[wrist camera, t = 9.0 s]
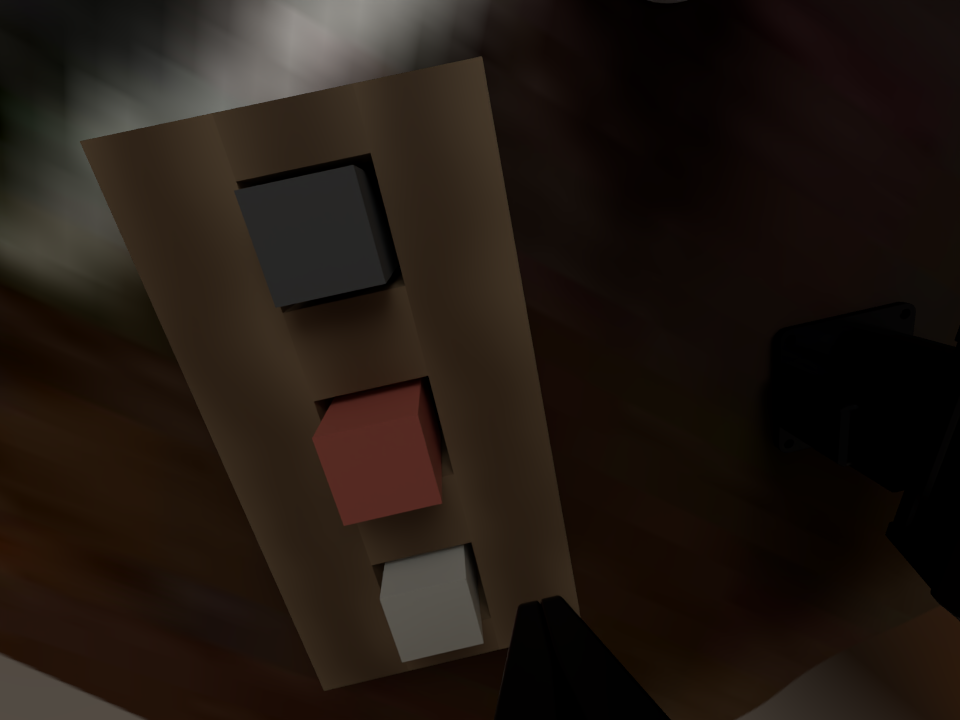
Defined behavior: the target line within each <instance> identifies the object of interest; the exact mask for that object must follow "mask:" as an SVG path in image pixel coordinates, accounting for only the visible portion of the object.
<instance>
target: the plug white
mask: <svg viewBox="0 0 960 720" xmlns="http://www.w3.org/2000/svg"><path fill="white" fill-rule="evenodd" d="M380 602H381V605H382V607H383V610H384V613H385V616H386V619H387V621H388V624H389V627H390V630H391V633H392V635H393V638H394V641H395V644H396V647H397V649H398V652H399V655H400V658H401V661H402V663H403V662H407V661H411V660H415V659H419V658H424V657H428V656H432V655H436V654H441V653H445V652H449V651H453V650H458V649H462V648H466V647H470V646H475V645H479V644H483V643H484V641H483V632H482V622H481V613H480V604H479V594H478V585H477V576H476V566H475V557H474V553H473V549H472V545H471V542H470V543H466V544H461V545H457V546H453V547H449V548H444V549H440V550H436V551H431V552H427V553H423V554H418V555H414V556H410V557H405V558H401V559H397V560H392V561H388V562H385V566H384V572H383V579H382V586H381V593H380Z"/></svg>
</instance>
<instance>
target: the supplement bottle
mask: <svg viewBox="0 0 960 720" xmlns="http://www.w3.org/2000/svg"><path fill="white" fill-rule="evenodd" d="M647 1H651V2H657V3H677V2H683V1H687V0H647Z"/></svg>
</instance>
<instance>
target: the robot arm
mask: <svg viewBox="0 0 960 720" xmlns="http://www.w3.org/2000/svg"><path fill="white" fill-rule="evenodd" d="M901 312H902V314H901V315H900V313H901ZM915 313H916V311H915V307H914V305H912V304H910V303H905V302H896V303H891V304H887V305H883V306H878V307H874V308H869V309H865V310H860V311H856V312H851V313H847V314H843V315H838V316H834V317H829V318H825V319H820V320H816V321H812V322H807V323H803V324H798V325H794V326H789V327H785V328H782V329H780V330H779V331H778V332H777V333H776V335H775V338H774V378H773V422H774V445H775V447H776V448H778V449H779V450H781V451H782V452H785V453H788V452H793V451H797V450H802V449H806V448H810V447H812V448H814V449H815V450H817V451H818V452H820V453H822V454H823V455H825V456H826V457H828V458H829V459H831V460H833V461H834V462H836V463H837V464H839V465H840V466H843V467H844V466H848V465H849V466H851V467H852V468H854V469H856V470H857V471H859V472H860V473H862V474H864V475H865V476H867V477H868V478H870V479H872V480H873V481H875V482H876V483H878V484H880V485H881V486H883V487H885V488H886V489H888V490H889V491H891V492H898V491H903V490H904V493H903V496H902V499H901V501H900V504H899V507H898V510H897V513H896V515H895V518H894V521H893V522H890V523H889V525H888V528H887V531H886V534H885V535H886V536H887V538H888V539H889V540H890V541H891V542H892V543H893V545H894V546H895V547H896V548H897V549H898V551H899V552H900V553H901V554H902V555H903V556H904V558H905V559H906V560H907V561H908V562H909V563H910V565H911V566H912V567H913V568H914V569H915V570H916V572H917V573H918V574H919V575H920V576H921V577H922V579H923V580H924V581H925V582H926V583H927V585H928V586H929V587H930V588H931V595H932V596H933V597H934V598H935V600H936V601H937V602H938V603H939V604H940V605H941V606H942V607H944V608H945V609H946V610H947V611H949V612H950V613H951V614H952V615H953V616H955V617H956V618H957V619H958V620H959V621H960V326H959V329H958V332H957V335H956V338H955V341H957V342H958V343H957V346H956V347H954V346H950V345H946V344H943V343H939V342H935V341H931V340H927V339H924V338H920V337H916V336H913V332H914V322H915ZM788 336H790V337H789V340H788V341H787V342H785V340H786V338H787V337H788ZM786 440H788V441H787V442H786ZM785 442H786V443H785ZM784 443H785V444H784ZM494 720H671V719H670V718H669V717H668V716H667V715H666V714H665V713H664V712H663V710H662V709H661V708H660V707H659V706H658V705H657V704H656V703H655V701H654V700H653V699H652V698H651V697H650V696H649V695H648V693H647V692H646V691H645V690H644V689H643V688H642V687H641V686H640V684H639V683H638V682H637V681H636V680H635V679H634V678H633V676H632V675H631V674H630V673H629V672H628V671H627V670H626V669H625V667H624V666H623V665H622V664H621V663H620V662H619V661H618V660H617V658H616V657H615V656H614V655H613V654H612V653H611V652H610V650H609V649H608V648H607V647H606V646H605V645H604V644H603V643H602V641H601V640H600V639H599V638H598V637H597V636H596V635H595V634H594V632H593V631H592V630H591V629H590V628H589V627H588V626H587V624H586V623H585V622H584V621H583V620H582V619H581V618H580V617H579V615H578V614H577V613H576V612H575V611H574V610H573V609H572V607H571V606H570V605H569V604H568V603H567V602H566V601H565V600H564V598H562V597H561V596H559V595H556V596H552V597H547V598H543V599H542V600H541V601H540V603H539V602H538V601H537V600H535V601H530V602H526V603H522V604H520V605H519V606H518V608H517V611H516V616H515V621H514V626H513V630H512V635H511V640H510V645H509V649H508V654H507V659H506V664H505V669H504V673H503V678H502V683H501V688H500V692H499V697H498V702H497V707H496V712H495V716H494Z"/></svg>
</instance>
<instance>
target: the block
mask: <svg viewBox="0 0 960 720" xmlns="http://www.w3.org/2000/svg"><path fill="white" fill-rule="evenodd" d="M80 143H81V145H82V147H83V150H84V152H85V154H86V156H87V159H88V161H89V163H90V165H91V168H92V170H93V172H94V174H95V177H96V179H97V181H98V183H99V186H100V188H101V190H102V192H103V195H104V197H105V199H106V201H107V204H108V206H109V208H110V210H111V213H112V215H113V217H114V219H115V222H116V224H117V226H118V228H119V231H120V233H121V235H122V237H123V240H124V242H125V244H126V246H127V249H128V251H129V253H130V255H131V258H132V260H133V262H134V264H135V267H136V269H137V271H138V273H139V276H140V278H141V280H142V282H143V285H144V287H145V289H146V291H147V294H148V296H149V298H150V300H151V303H152V305H153V307H154V309H155V311H156V314H157V316H158V318H159V320H160V323H161V325H162V327H163V329H164V332H165V334H166V336H167V338H168V341H169V343H170V345H171V347H172V350H173V352H174V354H175V356H176V359H177V361H178V363H179V365H180V368H181V370H182V372H183V374H184V377H185V379H186V381H187V383H188V386H189V388H190V390H191V392H192V395H193V397H194V399H195V401H196V404H197V406H198V408H199V410H200V413H201V415H202V417H203V419H204V422H205V424H206V426H207V428H208V431H209V433H210V435H211V437H212V440H213V442H214V444H215V446H216V449H217V451H218V453H219V455H220V458H221V460H222V462H223V464H224V467H225V469H226V471H227V473H228V476H229V478H230V480H231V482H232V485H233V487H234V489H235V491H236V494H237V496H238V498H239V500H240V503H241V505H242V507H243V509H244V512H245V514H246V516H247V518H248V521H249V523H250V525H251V527H252V530H253V532H254V534H255V536H256V539H257V541H258V543H259V545H260V548H261V550H262V552H263V554H264V557H265V559H266V561H267V563H268V566H269V568H270V570H271V572H272V575H273V577H274V579H275V581H276V584H277V586H278V588H279V590H280V593H281V595H282V597H283V599H284V602H285V604H286V606H287V608H288V611H289V613H290V615H291V617H292V620H293V622H294V624H295V626H296V629H297V631H298V633H299V635H300V638H301V640H302V642H303V644H304V647H305V649H306V651H307V653H308V656H309V658H310V660H311V662H312V665H313V667H314V669H315V671H316V674H317V676H318V678H319V680H320V682H321V685H322V687H323V689H324V691H326V690H330V689H334V688H338V687H343V686H347V685H351V684H355V683H359V682H364V681H368V680H372V679H376V678H381V677H385V676H389V675H393V674H398V673H402V672H406V671H410V670H414V669H419V668H423V667H427V666H431V665H436V664H440V663H444V662H448V661H452V660H457V659H461V658H465V657H469V656H474V655H478V654H482V653H486V652H491V651H495V650H499V649H503V648H507V647H509V645H510V640H511V635H512V630H513V626H514V621H515V616H516V611H517V608H518V606H519V605H520V604H522V603H526V602H530V601H535V600H537V601H538V602H539V603H540V601H541V600H542V599H543V598H547V597H552V596H556V595H559V596H561V597H562V598H564V600H565V601H566V602H567V603H568V604H569V605H570V606H571V607H572V609H573V610H574V611H575V612H576V613H577V614H578V615H579V617H580V612H579V606H578V600H577V595H576V589H575V583H574V577H573V572H572V566H571V560H570V555H569V549H568V543H567V538H566V532H565V526H564V521H563V515H562V509H561V503H560V498H559V492H558V486H557V481H556V475H555V469H554V464H553V458H552V452H551V447H550V441H549V435H548V429H547V424H546V418H545V412H544V407H543V401H542V395H541V390H540V384H539V378H538V373H537V367H536V361H535V355H534V350H533V344H532V338H531V333H530V327H529V321H528V316H527V310H526V304H525V299H524V293H523V287H522V282H521V276H520V270H519V264H518V259H517V253H516V247H515V242H514V236H513V230H512V225H511V219H510V213H509V208H508V202H507V196H506V190H505V185H504V179H503V173H502V168H501V162H500V156H499V151H498V145H497V139H496V134H495V128H494V122H493V116H492V111H491V105H490V99H489V94H488V88H487V82H486V77H485V71H484V65H483V60H482V56H481V57H477V58H472V59H467V60H462V61H458V62H453V63H448V64H444V65H439V66H434V67H429V68H425V69H420V70H415V71H410V72H406V73H401V74H396V75H391V76H387V77H382V78H377V79H372V80H368V81H363V82H358V83H354V84H349V85H344V86H339V87H335V88H330V89H325V90H320V91H316V92H311V93H306V94H301V95H297V96H292V97H287V98H282V99H278V100H273V101H268V102H264V103H259V104H254V105H249V106H245V107H240V108H235V109H230V110H226V111H221V112H216V113H211V114H207V115H202V116H197V117H193V118H188V119H183V120H178V121H174V122H169V123H164V124H159V125H155V126H150V127H145V128H140V129H136V130H131V131H126V132H121V133H117V134H112V135H107V136H103V137H98V138H93V139H88V140H84V141H80ZM350 165H355V166H357V167H358V168H360V169H366V168H371V167H374V168H375V172H376V175H377V179H378V183H379V187H380V191H381V195H382V199H383V202H384V206H385V210H386V214H387V218H388V222H389V226H390V229H391V233H392V237H393V241H394V245H395V249H396V253H397V256H398V260H399V264H400V268H401V272H402V273H400V274H396V275H391V277H390V278H389V280H388V281H387V283H386V284H382V285H377V286H373V287H368V288H364V289H359V290H355V291H350V292H346V293H341V294H336V295H332V296H327V297H323V298H318V299H314V300H309V301H305V302H300V303H295V304H291V305H286V306H282V307H277V308H275V305H274V302H273V299H272V296H271V294H270V291H269V288H268V285H267V282H266V280H265V277H264V274H263V271H262V268H261V266H260V263H259V260H258V257H257V254H256V251H255V249H254V246H253V243H252V240H251V237H250V235H249V232H248V229H247V226H246V223H245V221H244V218H243V215H242V212H241V209H240V207H239V204H238V201H237V198H236V195H235V193H234V190H239V189H243V188H248V187H253V186H257V185H262V184H267V183H271V182H276V181H281V180H285V179H290V178H295V177H299V176H304V175H309V174H313V173H318V172H322V171H327V170H332V169H336V168H341V167H346V166H350ZM425 376H429V380H430V384H431V388H432V392H433V395H434V399H435V403H436V407H437V411H438V415H439V419H440V422H441V426H442V430H441V431H440V433H441V464H442V504H437V505H433V506H429V507H424V508H420V509H416V510H411V511H407V512H402V513H398V514H394V515H389V516H385V517H381V518H376V519H372V520H368V521H363V522H359V523H355V524H350V525H346V526H344V525H343V522H342V519H341V517H340V514H339V511H338V508H337V506H336V503H335V500H334V497H333V495H332V492H331V489H330V486H329V484H328V481H327V478H326V475H325V473H324V470H323V467H322V465H321V462H320V459H319V456H318V454H317V451H316V448H315V445H314V443H313V440H312V437H313V436H314V434H315V432H316V430H317V428H318V426H319V425H320V423H321V421H322V419H323V417H324V415H325V414H326V412H327V410H328V408H329V406H330V404H331V403H332V401H333V399H334V397H335V396H340V395H344V394H349V393H353V392H358V391H362V390H367V389H371V388H376V387H380V386H384V385H389V384H393V383H398V382H402V381H407V380H411V379H416V378H420V377H425ZM470 542H472V546H473V550H474V554H475V556H474V557H475V566H476V576H477V585H478V594H479V604H480V613H481V622H482V632H483V641H484V643H483V644H479V645H475V646H470V647H466V648H462V649H458V650H453V651H449V652H445V653H441V654H436V655H432V656H428V657H424V658H419V659H415V660H411V661H407V662H403V663H402V661H401V658H400V655H399V652H398V649H397V647H396V644H395V641H394V638H393V635H392V633H391V630H390V627H389V624H388V621H387V619H386V616H385V613H384V610H383V607H382V605H381V602H380V593H381V586H382V579H383V572H384V566H385V562H388V561H392V560H397V559H401V558H405V557H410V556H414V555H418V554H423V553H427V552H431V551H436V550H440V549H444V548H449V547H453V546H457V545H461V544H466V543H470ZM580 618H581V617H580Z"/></svg>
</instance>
